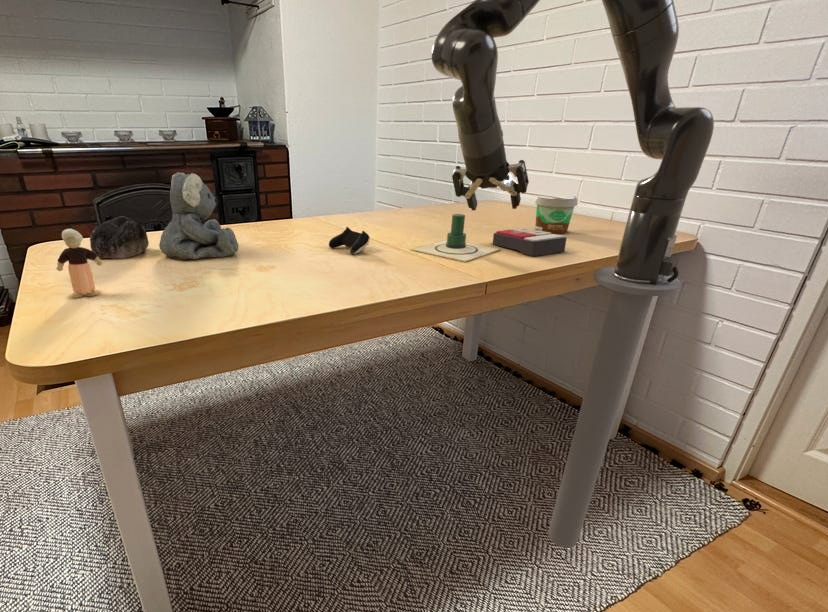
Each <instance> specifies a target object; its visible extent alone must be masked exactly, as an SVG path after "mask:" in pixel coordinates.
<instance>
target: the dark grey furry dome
mask: <svg viewBox="0 0 828 612" xmlns="http://www.w3.org/2000/svg"><path fill="white" fill-rule="evenodd" d="M89 237H90V238H89V242H90V243H89V244H90V246H89V247H90V250H91V251H93V252H94V253H96V254H97V256H98V257H99V259H127V258H131V257H134V256H137V255H139V254H141V253H143V252H145V251H146V250H147V249H148V247H149V244H150V242H149V241H150V240H149V238H148V233H147V230H146V228H145V226H144V225H143V224H141V223H137V222H136V221H134V220H133V219H131V218H129V217H127V216H125V215H119V216H117V217H114V218H111V219H109V220H107V221H104V222H102V223H101V224H100V225H98V226H96V227H95V228H94V229H93V230H92V231H91V233H90V234H89Z"/></svg>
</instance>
